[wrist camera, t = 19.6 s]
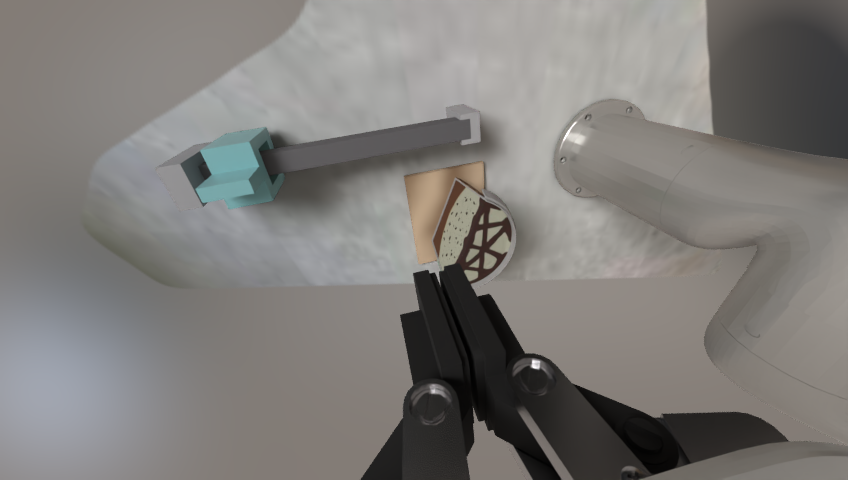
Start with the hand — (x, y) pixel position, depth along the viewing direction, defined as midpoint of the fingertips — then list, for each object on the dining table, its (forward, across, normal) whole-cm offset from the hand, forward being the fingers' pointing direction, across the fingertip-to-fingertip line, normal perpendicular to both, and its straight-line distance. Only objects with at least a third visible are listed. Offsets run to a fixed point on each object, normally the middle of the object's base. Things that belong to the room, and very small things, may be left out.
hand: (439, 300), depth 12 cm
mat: (+29, -7, +12) cm, 32 cm away
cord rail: (+29, +4, 0) cm, 29 cm away
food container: (+29, -9, +12) cm, 32 cm away
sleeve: (+28, +13, 0) cm, 31 cm away
